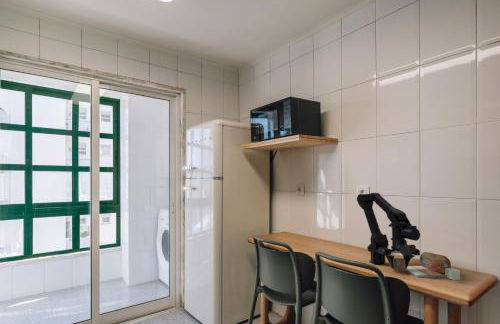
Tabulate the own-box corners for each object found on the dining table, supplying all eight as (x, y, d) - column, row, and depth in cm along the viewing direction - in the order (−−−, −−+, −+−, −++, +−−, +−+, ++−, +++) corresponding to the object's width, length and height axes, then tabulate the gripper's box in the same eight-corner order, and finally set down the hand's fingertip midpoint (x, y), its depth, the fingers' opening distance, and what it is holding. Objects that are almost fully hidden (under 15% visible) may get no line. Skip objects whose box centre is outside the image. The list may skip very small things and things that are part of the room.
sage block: (451, 279, 131) (451, 270, 131) (445, 277, 135) (445, 268, 135) (460, 279, 131) (459, 270, 131) (453, 277, 135) (453, 268, 135)
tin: (419, 266, 152) (419, 250, 152) (424, 266, 153) (423, 250, 153) (448, 275, 137) (447, 257, 138) (452, 274, 139) (452, 256, 139)
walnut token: (397, 272, 141) (397, 259, 141) (393, 269, 145) (392, 257, 145) (405, 272, 141) (405, 259, 142) (400, 269, 145) (400, 257, 146)
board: (417, 277, 133) (417, 275, 133) (397, 267, 150) (397, 265, 150) (444, 277, 134) (444, 275, 134) (421, 267, 151) (421, 265, 151)
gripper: (388, 239, 136) (389, 273, 135) (427, 240, 137) (428, 273, 135) (377, 235, 147) (377, 267, 146) (412, 236, 148) (413, 267, 147)
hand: (399, 268), depth 143 cm, fingers open, 6 cm apart
